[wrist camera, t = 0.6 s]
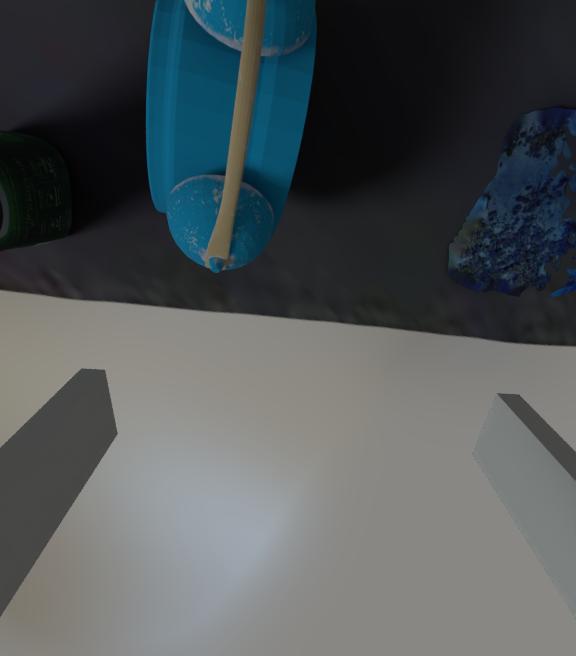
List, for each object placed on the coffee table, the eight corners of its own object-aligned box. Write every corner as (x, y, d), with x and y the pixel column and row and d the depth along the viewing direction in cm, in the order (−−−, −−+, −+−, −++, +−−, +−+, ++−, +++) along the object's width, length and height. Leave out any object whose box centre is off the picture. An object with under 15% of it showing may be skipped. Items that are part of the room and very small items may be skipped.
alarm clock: (195, 4, 27) (7, -316, 9) (320, 39, 28) (371, -192, 10) (178, 216, 34) (53, 271, 16) (279, 239, 35) (266, 315, 17)
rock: (434, 279, 37) (442, 285, 35) (507, 97, 30) (520, 93, 28) (555, 304, 39) (569, 311, 37) (651, 136, 32) (673, 134, 30)
